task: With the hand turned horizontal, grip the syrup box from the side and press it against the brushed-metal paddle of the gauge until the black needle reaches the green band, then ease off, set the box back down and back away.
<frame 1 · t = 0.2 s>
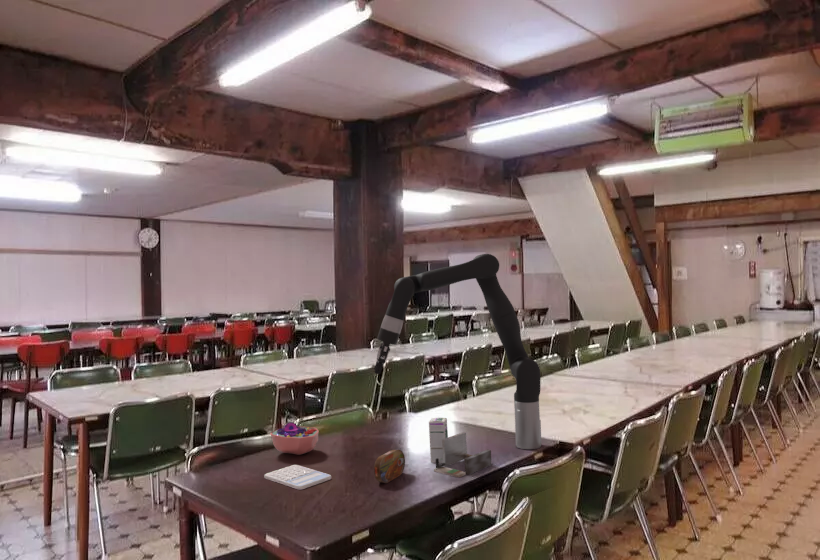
hand: (376, 372, 208), 31 cm above the table, tool tilted 20°, fingers open, 8 cm apart
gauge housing: (469, 467, 193), on the table
tin: (390, 479, 185), on the table
cell model: (296, 453, 217), on the table
calculator: (297, 480, 188), on the table
syrup box: (439, 461, 202), on the table
gauge paddle: (451, 450, 195), point 5 cm above the table, slide at 0.0 cm
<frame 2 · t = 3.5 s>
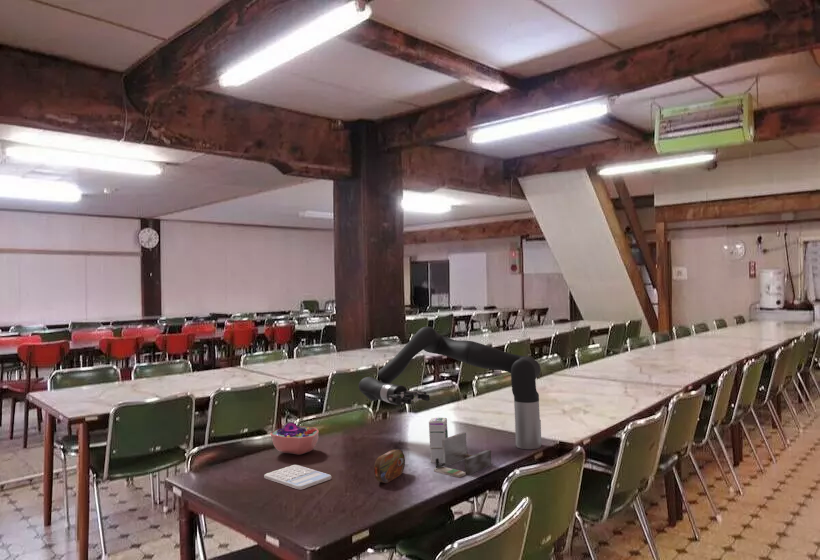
hand: (419, 399, 210), 20 cm above the table, tool horizontal, fingers open, 8 cm apart
nothing on the table moved.
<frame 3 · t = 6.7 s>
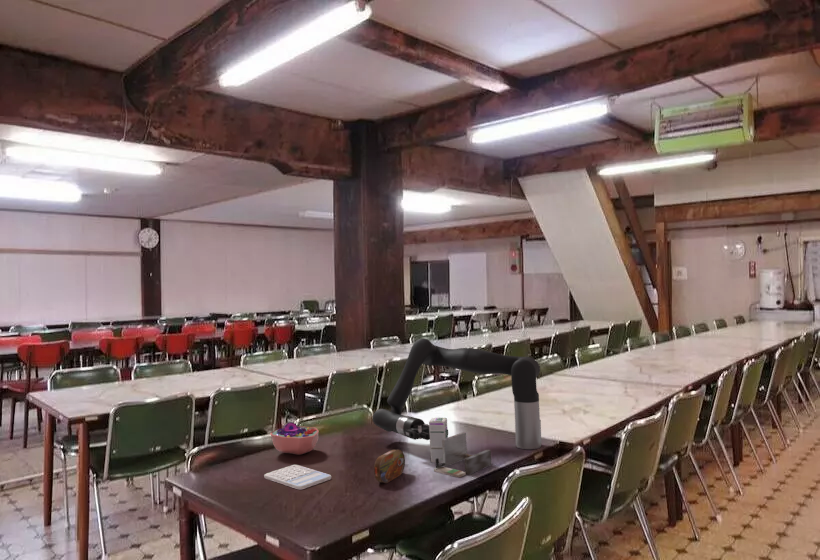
hand: (438, 434, 202), 9 cm above the table, tool horizontal, fingers open, 8 cm apart
syrup box: (439, 461, 202), on the table, touching gripper
everything else where it was.
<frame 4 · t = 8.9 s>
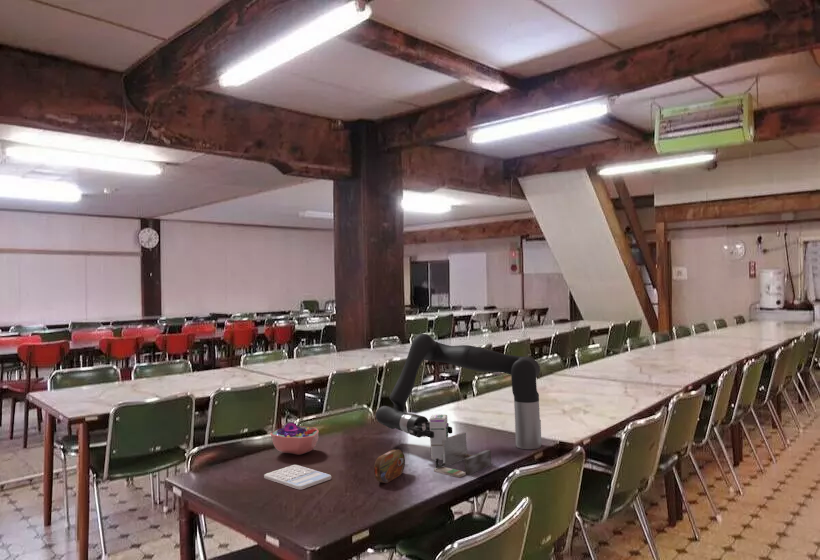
hand: (442, 432, 200), 10 cm above the table, tool horizontal, fingers closed on syrup box, 8 cm apart
syrup box: (440, 457, 202), point 1 cm above the table, touching gripper
everything else where it was.
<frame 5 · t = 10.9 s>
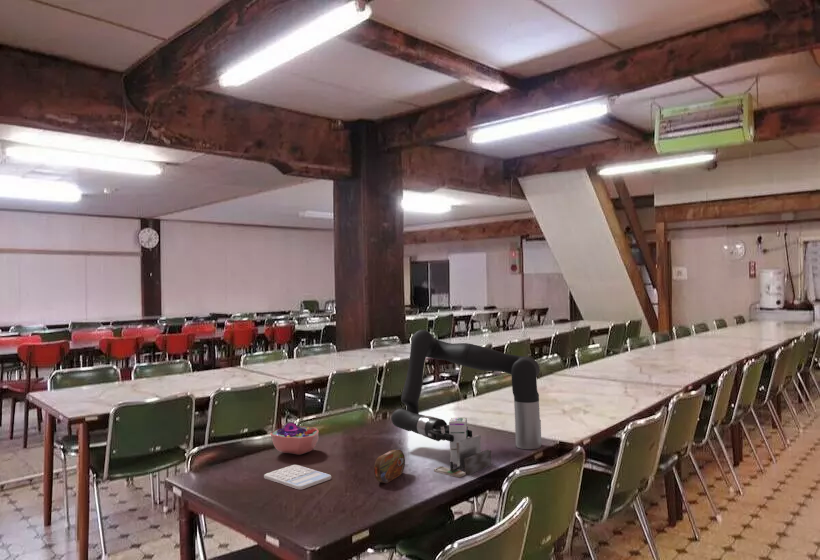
hand: (462, 436, 194), 10 cm above the table, tool horizontal, fingers closed on syrup box, 8 cm apart
syrup box: (459, 462, 196), point 1 cm above the table, touching gauge paddle, gripper
gauge paddle: (465, 453, 191), point 5 cm above the table, slide at 6.1 cm, touching syrup box
everything else where it was.
when the fingers open (10 cm above the table, at t = 14.0 s): syrup box stays where it is, on the table.
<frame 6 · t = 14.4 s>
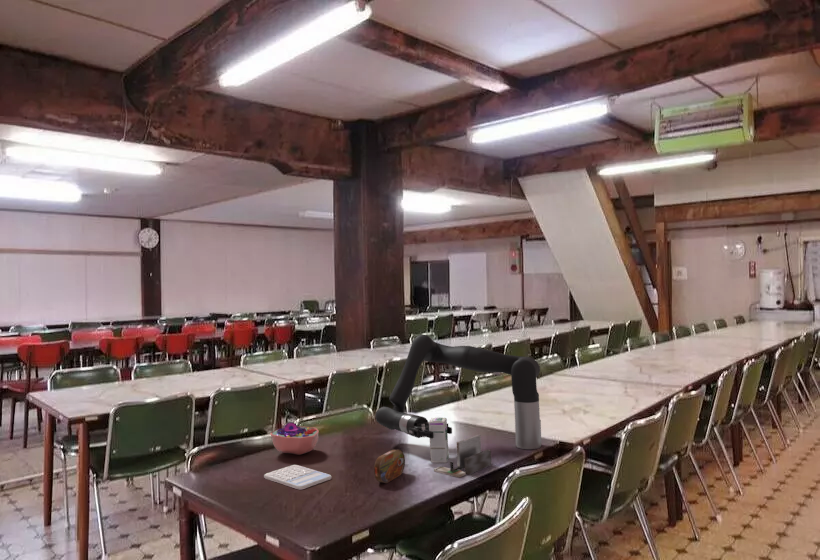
hand: (442, 433, 200), 10 cm above the table, tool horizontal, fingers open, 8 cm apart
syrup box: (439, 461, 202), on the table
gauge paddle: (465, 453, 191), point 5 cm above the table, slide at 6.1 cm
everything else where it was.
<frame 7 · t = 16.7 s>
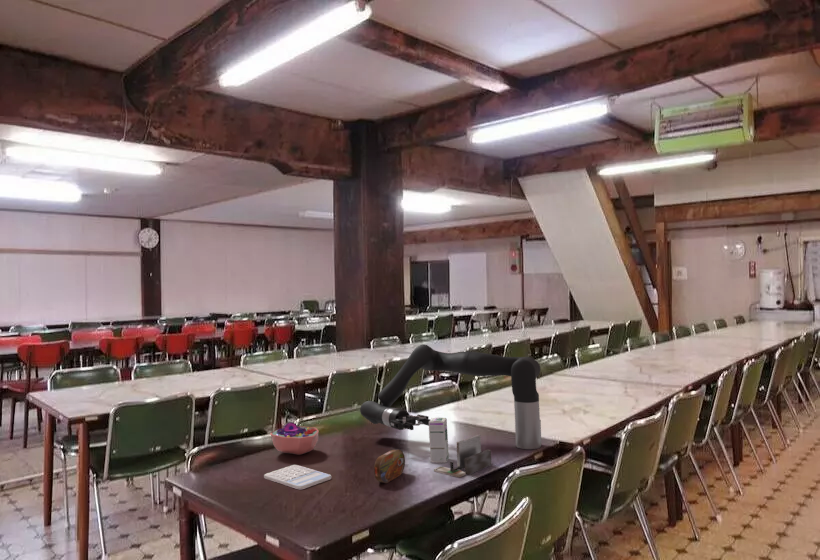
hand: (422, 425, 209), 11 cm above the table, tool horizontal, fingers open, 8 cm apart
nothing on the table moved.
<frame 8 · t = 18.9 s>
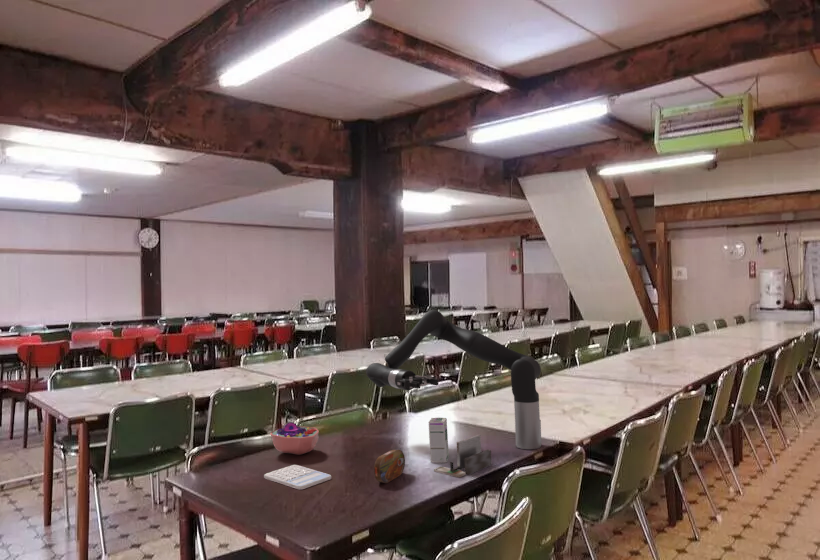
hand: (428, 384, 208), 26 cm above the table, tool horizontal, fingers open, 8 cm apart
nothing on the table moved.
at the end: gauge paddle slide at 6.1 cm; the gripper is holding nothing; syrup box tilted 0° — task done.
